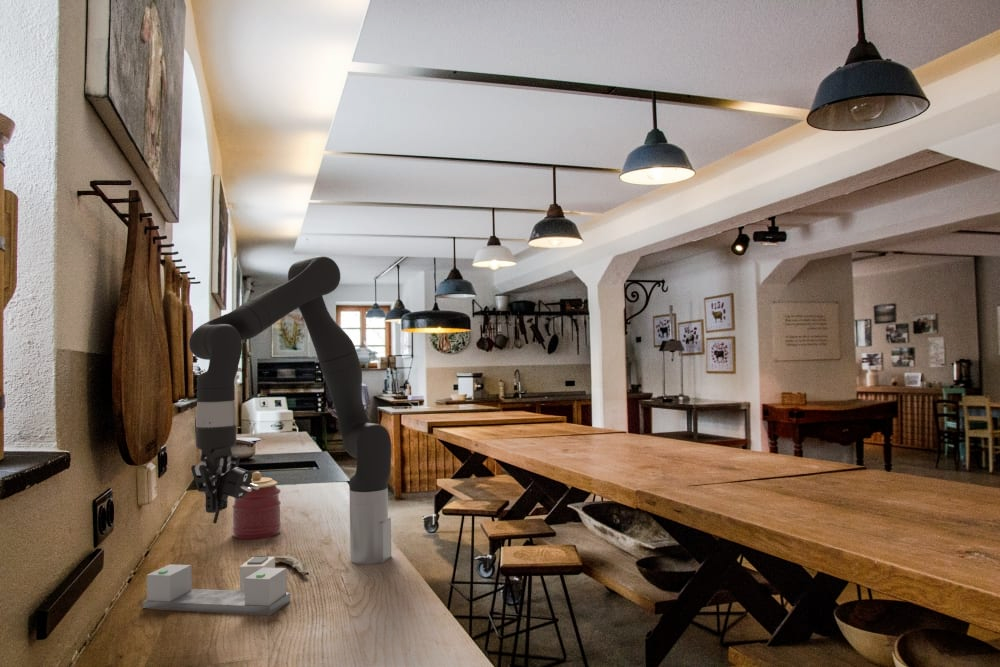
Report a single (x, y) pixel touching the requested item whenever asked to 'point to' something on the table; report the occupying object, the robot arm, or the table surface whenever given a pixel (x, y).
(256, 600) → the mounted modules
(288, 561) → the jawbone
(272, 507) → the canister
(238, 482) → the power plug
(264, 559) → the block
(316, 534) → the table surface
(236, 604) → the rail base
